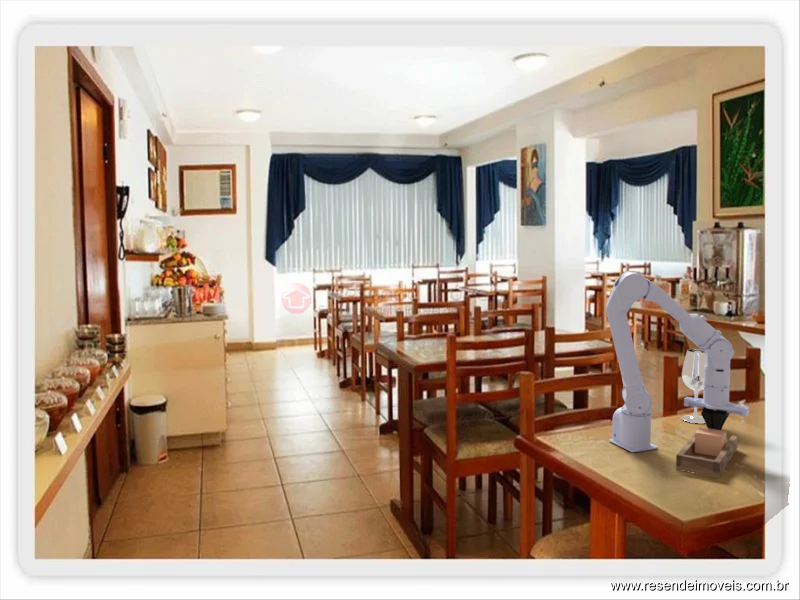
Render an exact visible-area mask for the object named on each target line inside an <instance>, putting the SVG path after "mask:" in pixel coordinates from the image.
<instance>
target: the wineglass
mask: <svg viewBox="0 0 800 600" xmlns="http://www.w3.org/2000/svg"><path fill="white" fill-rule="evenodd" d="M706 355H707V354H705V353H704V351H703V349H702V348H689V349H687V350H686V354H685V357H684V361H683V365H682V371H681V378H682V381H683V383H684V385H686V387H687V388H689V389H690V390H692V391H693V393H694V394H693V395H694V398H699V392H700V391H704V367H705V357H706ZM707 356H708V355H707ZM693 409H694V410H693V414H687V415H682V416H681V417H680V420H682V421H683V420H684V421H683V422H685V421H687V422H686V423H689V422H690V423H689V424H695V423H698V424H699V425H704V423H705V421H704V419H703V417H702V415H699V414H698V407H694V408H693ZM698 424H697V425H698ZM705 424H706V423H705Z"/></svg>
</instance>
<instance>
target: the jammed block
mask: <svg viewBox="0 0 800 600" xmlns="http://www.w3.org/2000/svg"><path fill="white" fill-rule="evenodd" d="M727 434H728V433H727V430H722V429H721V430H716V429H709V428H707V427H703V426H699V427H698V429H697V430H695V433H694V435H695V450H694V453H700V454H706V455H711V456H718V455H719V453H720V452H721V450H722V449H723V448H724V446H725V445H726V443H727Z"/></svg>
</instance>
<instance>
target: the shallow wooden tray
mask: <svg viewBox="0 0 800 600" xmlns="http://www.w3.org/2000/svg"><path fill="white" fill-rule="evenodd" d="M694 450H695V434H694V435H692V436H691V438H690V439H689V440H688V441H687V442H686V444H685V445H684V446H683V447H682V448H681V449H680V450H679V451H678V453H677V454H676V459H675V461H676V462H675V470H676V469H677V470H676V471H679V470H684V471H683V472H685V471H689V472H688V473H690V472H694V473H693V474H695V473H697V474H696V475H700V474H701V475H700V476H706V477H711V478H717V479H719V478H720V477H721V475H722V474H723V472H724V471H725V469H726V468H727V466H728V464H729V463H730V462H731V460H732V458H733V457H734V455H735V453H736V452H737V450H738V435H731V436H730V438H729V439H728V440H727V441H726V445H725V446H724V448H723V449H722V450H721V452H720V453H719V455H718V456H711V455H706V454H700V453H694Z"/></svg>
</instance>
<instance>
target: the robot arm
mask: <svg viewBox="0 0 800 600" xmlns="http://www.w3.org/2000/svg"><path fill="white" fill-rule="evenodd" d="M641 299H643V300H644V301H647V302H652V303H655V304H657V305H658V306H659V307H661V308H662V309H663V310H664V311H665V312H666V313H668V315H670V316H671V317H672V318H673V319H675V320H676V321H677V322H678V323H679V332H681V333H682V334H683V335H685V337H686V338H688V339H689V340H690V341H691V342H692V343H693V344H694V345H696V347H697V348H698V349H703V351H704V353H705V354H707V355H708V356H707V355H706V357H705V367H704V389H703V390H702V391H703V392H702V393H703V394H702V397H703V398H701V397H700V398H699V397H698V398H695V397H690V396H689V397H688V396H686V397H684V399H683V406H684V407H692V408H693V407H697V409H702V411H700V414H701V415H700V416H702V417H703V419H704V421H705V425H706V428H709V429H716V430H722V429H723V426H724V424H725V422H726V421H727V419H728V417H729V416H730V414H733V415H739V416H742V417H748V416H749V415H750V407H749V406H744V405H740V404H737V403H733V402H730V385H731V360H732V358H733V357H734V355H735V350H734V347H733V345H732V343H731V342H730V341H729V340H728V339H727V338H725V336H724V335H722V334H723V332H722V331H721V330H719V329H716V328H714V327H713V326H712V325H711V324H710V323H708V322H707V317H706V316H705V315H704V314H703V315H699V313H688V312H687V310H685V309H684V308H683V307H682V306H681V305H680V304H679V303H678V302H677V301H676V300H674V299H673V298H672V297H671V296H670V295H669V293H668V292H666V291H665V290H664V289H663V288H662V287H661V286H659V285H657V284H656V283H654V282H653V281H651V280H649V279H648V278H646V277H645V276H643V275H642V274H641V273H639V272H638V271H635V270H628V271H625V272H623V273H622V274H620V276H619V277H618V278H617V279H616V280H615V281H614V283H613V286H612V289H611V293H610V294H609V297H608V300H607V302H606V305H605V313H606V316H607V320H608V325H609V328H610V333H611V336H612V342H613V346H614V349H615V353H616V354H615V355H616V357H617V362H618V365H619V370H620V374H621V380H622V384H623V385H622V386H623V388H622V390H621V396H622V400H623V401H624V404H623V406H621V407H619V408H617V409H616V410H615V411H614V413H613V415H612V423H611V425H612V427H611V428H612V429H611V430H612V431H611V438H610V439H608V441H609V442H610V443H612V444H614V445H616V446H618V447H620V448H622V449H624V450H626V451H629V452H630V453H638V452H644V451H646V452H647V451H651V450H658V449H659V446H658V445H655V444H653V443H652V442H651V440H652V439H651V438H652V437H651V436H652V435H651V434H652V433H651V432H652V431H651V430H652V410H651V408H652V406H653V399H652V398H651V396H650V394H649V393H648V389H647V387H646V386H645V384H644V381H643V377H642V374H641V369H640V365H639V361H638V357H637V353H636V349H635V345H634V342H633V341H634V340H633V338H632V337H633V336H632V331H631V328H630V323H629V319H628V316H627V315H628V314H627V313H628V311H629V310H630V309H631V308H632V307H633V305H634V304H635V303H636V302H638V301H640V300H641Z"/></svg>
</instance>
